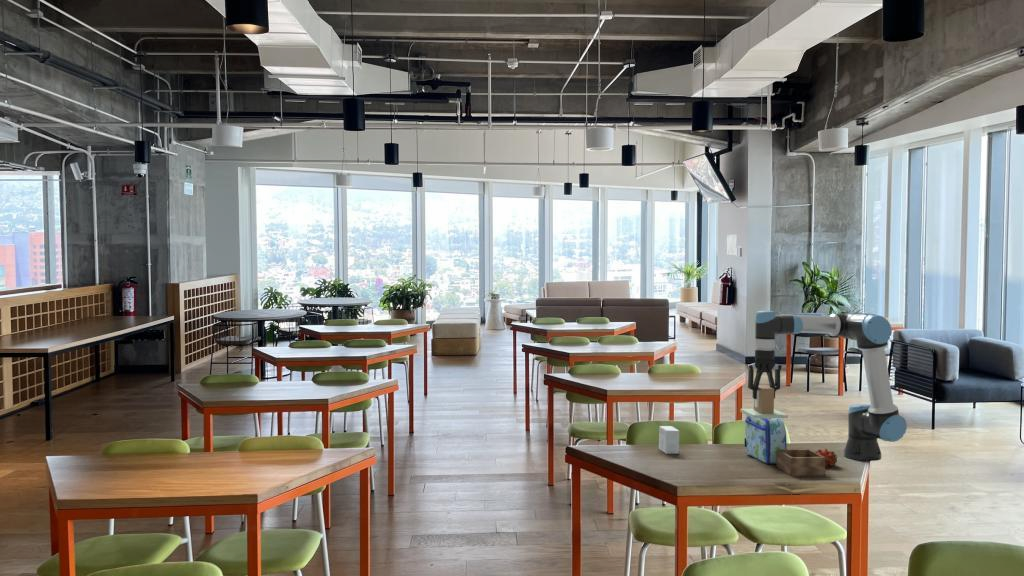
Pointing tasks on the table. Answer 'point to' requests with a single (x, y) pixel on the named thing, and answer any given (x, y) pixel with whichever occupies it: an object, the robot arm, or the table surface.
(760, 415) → the lid
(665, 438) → the skincare box
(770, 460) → the lunch box
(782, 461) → the box
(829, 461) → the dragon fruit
